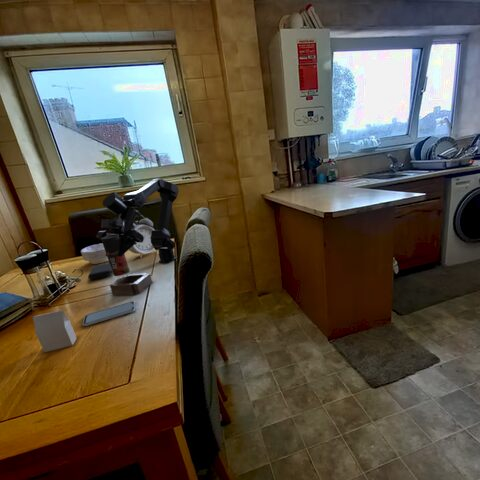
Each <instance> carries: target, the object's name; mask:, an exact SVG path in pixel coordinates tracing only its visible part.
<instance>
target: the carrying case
mask: <svg viewBox="0 0 480 480" xmlns="http://www.w3.org/2000/svg"><path fill="white" fill-rule="evenodd" d="M112 275H113V272H112V269H111V266H110V263H109V262H107V263H101V264H97V265H94V266H92V268H91V269H90V272H89V273H88V277H87V278H88V279H89V281H95V280H99V279H104V278H108V277H111V276H112Z"/></svg>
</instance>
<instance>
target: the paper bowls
mask: <svg viewBox="0 0 480 480" xmlns="http://www.w3.org/2000/svg"><path fill="white" fill-rule="evenodd" d="M80 254H81V256H82V259H83V261H86V262H89V263H90V264H91V265H100V264H105V263H106V262H107V263H108V262H109V260H108V257H107V256H106V251H105V249H104V246H103V243H102V242H101V243H97V244H92V245H89V246H86V247H84V248H82V249H81V250H80Z"/></svg>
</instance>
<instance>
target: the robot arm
mask: <svg viewBox="0 0 480 480" xmlns="http://www.w3.org/2000/svg"><path fill="white" fill-rule="evenodd" d="M156 192H157V193H158V194H159V197H160V199H161V204H160V208H159V209H160V210H159V216H158V222H157V227H156V229H154V230H153V231H152V232H151V238H150V239H151V244H152V245H153V247H154V250H155V251H158V258H159V260H158V263H162V264H163V263H164V264H169V263H171V262H173V261H175V260H177V259H178V257H175V252H174V249H175V248H176V242H174V240H172V239H171V234H170V231H169V227H170V222H171V221H170V220H171V215H172V208H173V203H174V202H175V201H176V200H177V199H178V195H179V187H178V186H177V184H175V183H172V182H169V181H166V180H164V179H163V178H153V179H151V181H150V182H148V183H146V184H145V185H144V186H142V187H140V188H139V189H138V190H135V191H132V192H131V191H130V192H127V193H125V194H124V195H122V197H121V196H120V195H119V194H118V193H117V192H115V191H113V192H112V191H111V192H110V193H109V194H108V195H107V196H106V197H105V198H104V199H103V200H102V202H101V203H102V206H103V207H104V208H106V209H107V210H109V211H110V212H111V213H112V214H114V215H116V216H118V217H114V218H113V219H111V218H110V219H109V218H107V219H101V229H104V230H99V231H97V233H96V236H95V237H96V238H98V239H99V240H101V238H103V237H105V236H109V235H115V234H117V235H118V236H119V239H120V242H121V246H120V249H119V253H118V256H119V257H121V256H122V255H123V254H126V253H127V252H128V251H129V249H130V248H131V247H132V246H134V245H135V244H137V243H140V242H143V240H144V237H143V235H142V234H141V233H139V232H138V231H136V230H131V229H134V228H135V226H134V225H133V223H134V224H135V221H136V218H140V217H142V216H141V215H142V214H141V213H140V211H139V210H138V209H135V208H142V207H143V206H144V205H145V204H146V203H147V199H148V198H149V197H150V196H152V195H153V194H155V193H156ZM105 229H106V230H105ZM108 230H109V231H108ZM136 242H137V243H136ZM106 256H107V254H106Z"/></svg>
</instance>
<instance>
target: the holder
mask: <svg viewBox="0 0 480 480" xmlns="http://www.w3.org/2000/svg"><path fill="white" fill-rule="evenodd" d="M152 279H153V278H152V276H151V273H148V272H141V273H140V272H137V273H128V274H124V275H121V276H120V277H119V278H117V280H115V281H114V282H112V283H110V284H109V287H110V291H111V295H114V296H117V297H118V296H134V295H135V294H137V295H138V294H141V293H143V292H144V291H145V290H146V289H147V288H148V287H150V286H151V284H153V280H152Z"/></svg>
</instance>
